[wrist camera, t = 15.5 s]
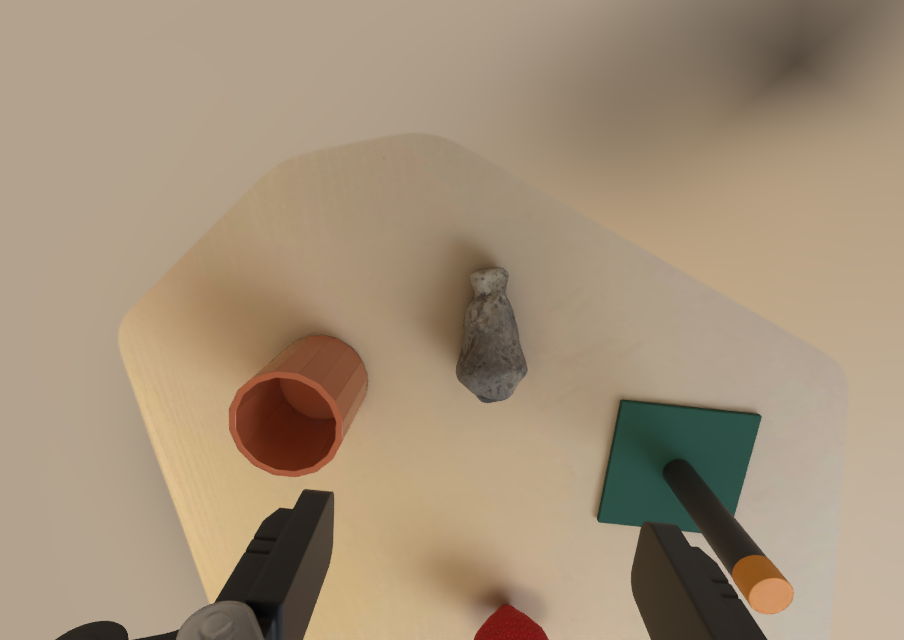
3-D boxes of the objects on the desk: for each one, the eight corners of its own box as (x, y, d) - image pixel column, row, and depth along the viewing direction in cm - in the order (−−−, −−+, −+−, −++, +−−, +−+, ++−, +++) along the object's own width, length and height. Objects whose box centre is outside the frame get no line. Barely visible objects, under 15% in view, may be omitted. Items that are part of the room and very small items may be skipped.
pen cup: (277, 330, 42) (227, 365, 34) (370, 340, 42) (345, 378, 34) (276, 416, 44) (229, 470, 36) (365, 425, 44) (340, 482, 36)
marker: (665, 456, 44) (754, 575, 30) (695, 460, 44) (799, 580, 30) (659, 483, 44) (743, 612, 31) (689, 487, 44) (787, 616, 31)
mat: (620, 399, 43) (622, 401, 42) (758, 413, 43) (762, 416, 42) (596, 519, 46) (598, 522, 45) (726, 532, 46) (728, 536, 45)
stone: (471, 256, 41) (408, 315, 37) (523, 255, 37) (458, 321, 33) (514, 347, 46) (462, 408, 42) (564, 354, 42) (511, 423, 38)
